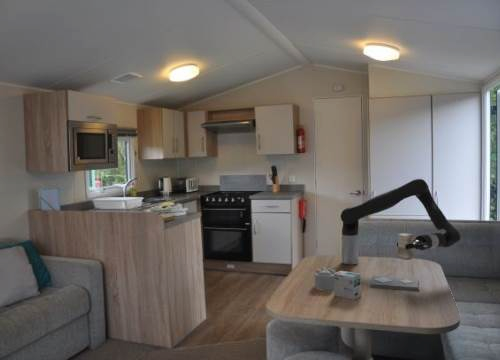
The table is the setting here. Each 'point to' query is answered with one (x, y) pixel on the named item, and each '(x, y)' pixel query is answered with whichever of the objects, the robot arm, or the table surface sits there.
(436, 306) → the table surface
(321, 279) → the lumpy-topped squat cylinder
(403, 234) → the pale ash block
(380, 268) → the table surface
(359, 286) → the light bulb box
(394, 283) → the charcoal board
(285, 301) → the table surface
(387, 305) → the table surface
